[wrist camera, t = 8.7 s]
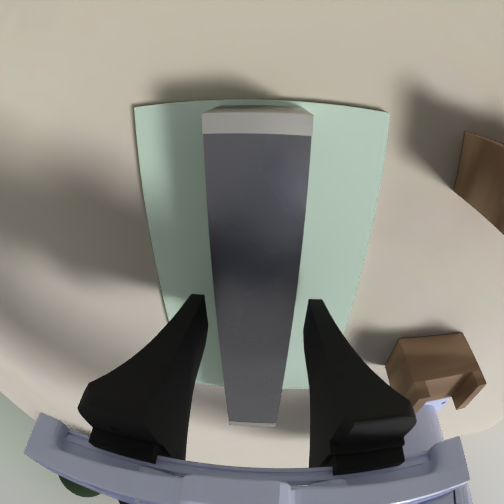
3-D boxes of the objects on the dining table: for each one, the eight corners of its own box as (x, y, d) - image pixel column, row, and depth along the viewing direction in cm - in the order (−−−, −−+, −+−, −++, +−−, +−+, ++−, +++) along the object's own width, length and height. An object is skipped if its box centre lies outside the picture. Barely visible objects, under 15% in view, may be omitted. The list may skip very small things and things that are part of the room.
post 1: (445, 358, 18) (464, 407, 14) (384, 366, 18) (399, 422, 14) (462, 332, 16) (486, 383, 12) (399, 338, 17) (419, 399, 13)
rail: (276, 390, 19) (275, 426, 17) (233, 388, 20) (229, 424, 17) (301, 107, 10) (313, 115, 7) (219, 105, 10) (201, 113, 7)
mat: (323, 384, 20) (324, 388, 19) (187, 377, 20) (186, 382, 20) (386, 111, 10) (389, 113, 10) (138, 106, 10) (134, 107, 10)
